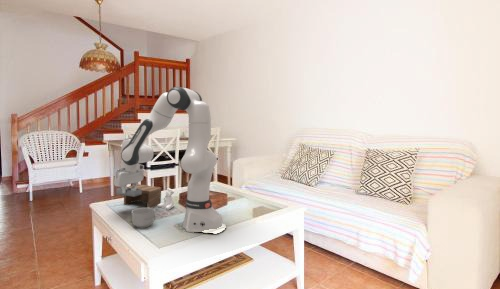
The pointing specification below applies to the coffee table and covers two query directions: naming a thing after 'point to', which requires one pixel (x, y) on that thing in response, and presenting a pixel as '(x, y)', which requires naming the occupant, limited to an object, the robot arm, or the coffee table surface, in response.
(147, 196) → the wooden plank crate
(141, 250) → the coffee table surface
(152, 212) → the teacup
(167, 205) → the seated beast figurine
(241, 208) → the coffee table surface
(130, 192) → the tray
